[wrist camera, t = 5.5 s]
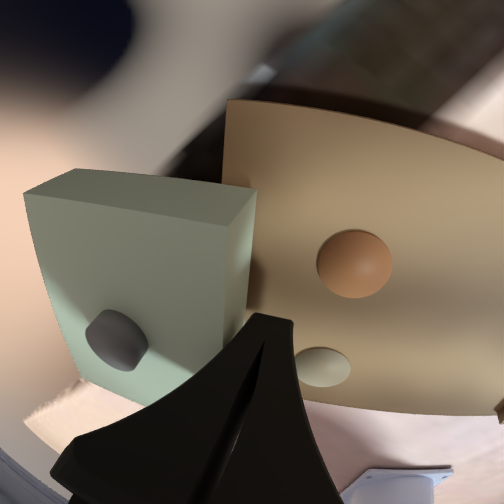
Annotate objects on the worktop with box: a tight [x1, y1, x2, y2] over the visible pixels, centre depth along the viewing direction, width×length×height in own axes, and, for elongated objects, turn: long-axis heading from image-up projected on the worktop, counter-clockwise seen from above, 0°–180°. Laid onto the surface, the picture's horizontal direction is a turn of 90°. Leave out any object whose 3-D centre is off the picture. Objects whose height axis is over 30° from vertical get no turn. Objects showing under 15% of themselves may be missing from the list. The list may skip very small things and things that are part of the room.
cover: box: [23, 169, 257, 407], centre depth 10 cm, size 9×7×4 cm
